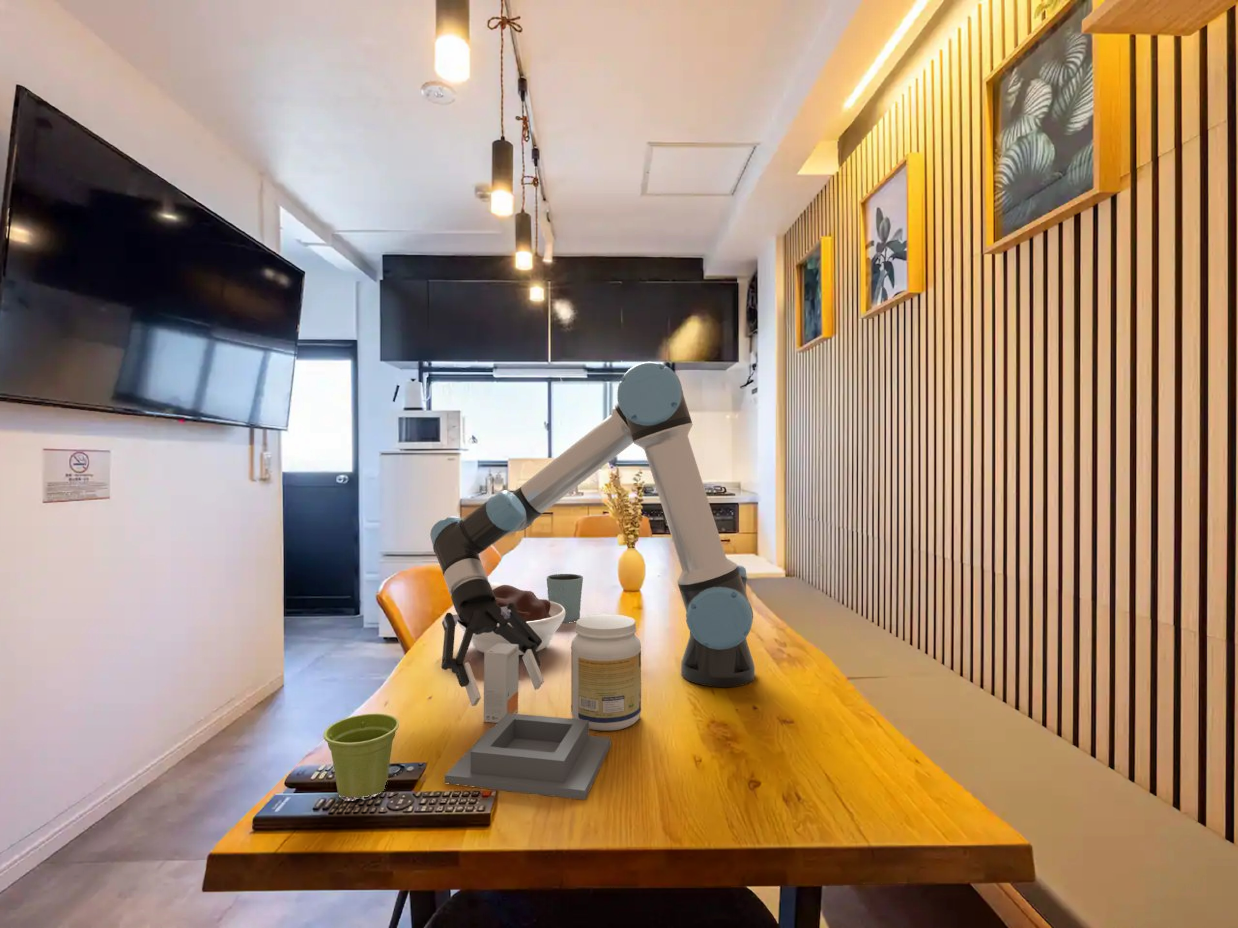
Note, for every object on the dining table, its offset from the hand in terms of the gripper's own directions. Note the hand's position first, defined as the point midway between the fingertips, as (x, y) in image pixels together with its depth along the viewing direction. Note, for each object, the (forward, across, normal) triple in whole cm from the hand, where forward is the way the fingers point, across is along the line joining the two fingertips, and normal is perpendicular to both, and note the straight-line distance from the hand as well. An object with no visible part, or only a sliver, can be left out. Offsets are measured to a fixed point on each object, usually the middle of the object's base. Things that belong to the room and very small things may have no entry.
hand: (509, 693), depth 107 cm
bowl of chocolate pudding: (-21, -20, -28) cm, 41 cm away
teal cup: (-33, -45, -40) cm, 69 cm away
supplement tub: (+10, -14, +3) cm, 17 cm away
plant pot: (+9, +26, +2) cm, 28 cm away
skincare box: (+2, 0, -6) cm, 6 cm away
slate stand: (+14, +4, +8) cm, 17 cm away
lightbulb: (-39, -28, -46) cm, 67 cm away
